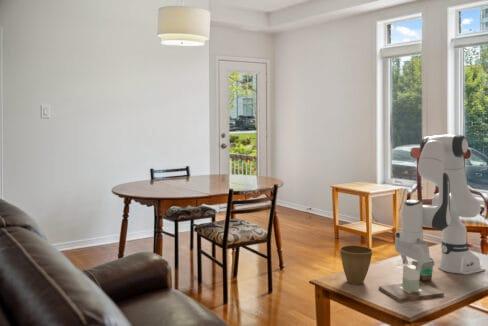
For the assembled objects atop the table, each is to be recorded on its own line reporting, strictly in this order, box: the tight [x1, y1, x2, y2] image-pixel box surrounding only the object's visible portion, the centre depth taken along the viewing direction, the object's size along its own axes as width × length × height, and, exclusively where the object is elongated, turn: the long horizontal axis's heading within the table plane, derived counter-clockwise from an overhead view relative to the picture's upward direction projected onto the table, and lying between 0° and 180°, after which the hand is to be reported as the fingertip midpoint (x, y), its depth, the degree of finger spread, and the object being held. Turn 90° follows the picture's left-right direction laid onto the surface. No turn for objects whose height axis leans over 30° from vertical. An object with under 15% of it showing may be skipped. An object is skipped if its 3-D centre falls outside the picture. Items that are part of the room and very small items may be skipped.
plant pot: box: [339, 244, 373, 285], centre depth 225 cm, size 15×15×16 cm
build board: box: [378, 281, 445, 303], centre depth 210 cm, size 22×16×2 cm
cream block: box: [402, 264, 420, 280], centre depth 210 cm, size 5×5×5 cm
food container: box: [411, 257, 435, 284], centre depth 225 cm, size 12×6×10 cm, turn 118°
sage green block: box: [402, 276, 419, 292], centre depth 210 cm, size 5×5×5 cm
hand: (411, 267), depth 210 cm, fingers open, 8 cm apart
